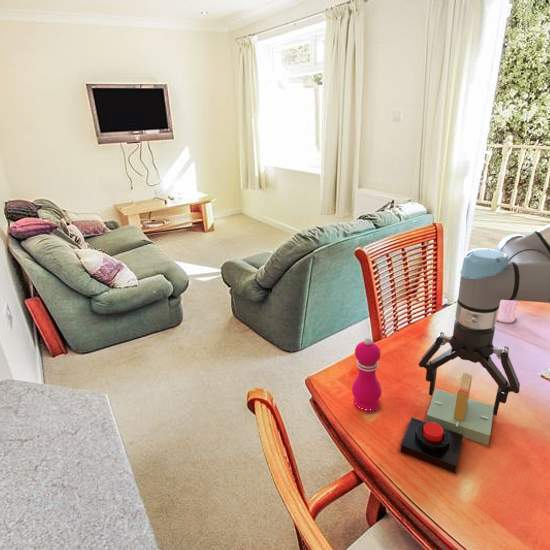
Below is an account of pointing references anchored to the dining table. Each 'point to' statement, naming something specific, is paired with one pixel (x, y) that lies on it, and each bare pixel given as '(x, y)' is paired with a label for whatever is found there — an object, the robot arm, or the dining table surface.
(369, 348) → the pepper mill
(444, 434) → the button block
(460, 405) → the handle
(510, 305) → the beer glass
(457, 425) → the plate
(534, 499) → the dining table surface
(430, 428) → the button
